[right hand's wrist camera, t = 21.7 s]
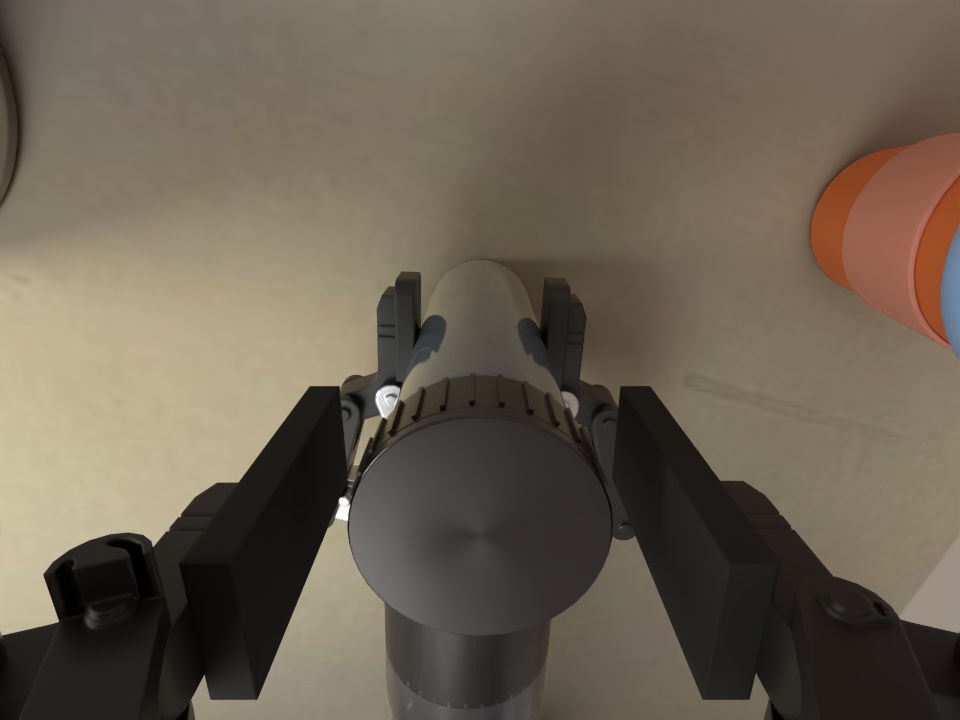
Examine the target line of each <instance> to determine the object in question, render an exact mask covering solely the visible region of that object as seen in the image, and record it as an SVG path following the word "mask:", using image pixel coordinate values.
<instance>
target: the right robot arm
mask: <svg viewBox="0 0 960 720" xmlns="http://www.w3.org/2000/svg"><path fill="white" fill-rule="evenodd" d="M16 150H17V113H16V105H15V98H14V92H13V87H12V83H11V79H10V75H9V71H8V68H7V65H6V62H5V59H4V56H3V53H2V50H1V47H0V202H1V200H2V198H3V197H4V195H5V193H6V190H7V187H8V185H9V182H10V179H11V176H12V172H13V168H14V164H15V157H16ZM347 480H348V470H347V460H346V449H345V439H344V429H343V418H342V408H341V397H340V387H339V386H310V387H309V388H308V390H307V391H306V392H305V394H304V395H303V396H302V398H301V399H300V400H299V402H298V403H297V404H296V406H295V407H294V409H293V410H292V411H291V413H290V414H289V415H288V417H287V418H286V419H285V421H284V422H283V423H282V425H281V426H280V427H279V429H278V430H277V431H276V433H275V434H274V436H273V437H272V438H271V440H270V441H269V442H268V444H267V445H266V446H265V448H264V449H263V450H262V452H261V453H260V454H259V456H258V457H257V458H256V460H255V461H254V463H253V464H252V465H251V467H250V468H249V469H248V471H247V472H246V473H245V475H244V476H243V477H242V479H241V480H240V481H239V483H216V484H215V485H213V486H211V487H210V488H208V489H207V490H205V491H204V492H202V493H201V494H199V495H198V496H196V497H195V498H194V499H193V500H192V502H191V503H190V504H189V505H188V506H187V508H186V509H185V510H184V511H183V512H182V514H181V517H178V518H177V520H176V521H175V522H174V523H173V524H172V526H171V527H170V528H169V529H170V530H169V532H166V533H165V534H164V535H163V536H162V538H161V539H160V540H159V541H158V542H157V543H156V545H155V546H154V547H153V546H152V542H151V541H150V540H149V539H148V538H146V537H145V536H144V535H140V534H134V533H119V534H110V535H106V536H103V537H100V538H96V539H93V540H89V541H87V542H85V543H83V544H81V545H79V546H77V547H75V548H73V549H71V550H69V551H68V552H66V553H65V554H63V555H62V556H61V557H59V558H58V559H57V560H55V561H54V562H53V563H52V564H51V565H50V567H49V568H48V569H47V570H46V572H45V573H44V574H43V575H44V578H45V581H46V584H47V587H48V590H49V593H50V596H51V599H52V602H53V604H54V607H55V610H56V613H57V616H58V619H59V622H58V623H54V624H51V625H46V626H42V627H38V628H33V629H29V630H24V631H20V632H16V633H11V634H7V635H3V636H2V635H1V633H0V720H195V716H194V709H193V705H192V701H191V699H192V697H193V695H194V693H195V691H196V689H197V687H198V686H199V684H200V682H201V680H202V678H203V676H204V674H205V678H206V682H207V687H208V691H209V695H210V699H211V700H257V699H258V697H259V694H260V692H261V689H262V687H263V685H264V682H265V680H266V677H267V675H268V672H269V670H270V667H271V665H272V663H273V660H274V658H275V655H276V653H277V650H278V648H279V645H280V643H281V641H282V638H283V636H284V633H285V631H286V628H287V626H288V624H289V621H290V619H291V616H292V614H293V611H294V609H295V606H296V604H297V602H298V599H299V597H300V594H301V592H302V589H303V587H304V585H305V582H306V580H307V577H308V575H309V572H310V570H311V567H312V565H313V563H314V560H315V558H316V555H317V553H318V550H319V548H320V546H321V543H322V541H323V538H324V536H325V533H326V531H327V528H328V526H329V524H330V521H331V519H332V516H333V514H334V511H335V509H336V507H337V504H338V502H339V499H340V497H341V494H342V492H343V489H344V487H345V485H346V482H347ZM612 480H613V482H614V485H615V487H616V489H617V492H618V494H619V497H620V499H621V502H622V504H623V507H624V509H625V511H626V514H627V516H628V519H629V521H630V524H631V526H632V528H633V531H634V533H635V536H636V538H637V541H638V543H639V546H640V548H641V550H642V553H643V555H644V558H645V560H646V563H647V565H648V567H649V570H650V572H651V575H652V577H653V580H654V582H655V585H656V587H657V589H658V592H659V594H660V597H661V599H662V602H663V604H664V606H665V609H666V611H667V614H668V616H669V619H670V621H671V624H672V626H673V628H674V631H675V633H676V636H677V638H678V641H679V643H680V646H681V648H682V650H683V653H684V655H685V658H686V660H687V663H688V665H689V667H690V670H691V672H692V675H693V677H694V680H695V682H696V685H697V687H698V689H699V692H700V694H701V697H702V699H703V700H749V699H750V695H751V691H752V687H753V682H754V678H755V674H756V673H757V675H758V677H759V679H760V681H761V683H762V685H763V687H764V688H765V690H766V692H767V694H768V696H769V701H768V705H767V709H766V713H765V717H764V720H960V633H955V632H950V631H946V630H942V629H937V628H933V627H928V626H924V625H920V624H915V623H911V622H907V621H904V620H901V619H900V618H899V617H898V615H897V614H896V612H895V611H894V610H893V608H892V607H891V606H890V605H889V604H888V603H886V602H885V601H884V600H883V599H882V598H880V597H879V596H878V595H877V594H875V593H873V592H872V591H870V590H868V589H866V588H864V587H862V586H860V585H859V584H856V583H853V582H850V581H847V580H844V579H841V578H838V577H833V575H832V574H831V573H830V572H829V571H828V569H827V568H826V567H825V566H824V565H823V564H822V562H821V561H820V560H819V559H818V558H817V556H816V555H815V554H814V553H813V552H812V550H811V549H810V548H809V547H808V546H807V545H806V543H805V542H804V541H803V540H802V539H801V537H800V536H799V535H798V534H797V533H796V531H795V530H792V529H791V526H790V524H789V523H788V522H787V521H786V520H785V518H784V517H783V516H782V515H779V511H778V510H777V509H776V508H775V507H774V505H773V504H772V503H771V502H770V501H769V499H768V498H767V497H766V496H765V495H764V494H762V493H761V492H759V491H758V490H756V489H755V488H753V487H752V486H750V485H748V484H747V483H745V482H744V481H720V480H719V479H718V477H717V476H716V475H715V473H714V472H713V471H712V469H711V468H710V467H709V465H708V464H707V463H706V461H705V460H704V458H703V457H702V456H701V454H700V453H699V452H698V450H697V449H696V448H695V446H694V445H693V444H692V442H691V441H690V440H689V438H688V437H687V436H686V434H685V433H684V431H683V430H682V429H681V427H680V426H679V425H678V423H677V422H676V421H675V419H674V418H673V417H672V415H671V414H670V413H669V411H668V410H667V409H666V407H665V406H664V404H663V403H662V402H661V400H660V399H659V398H658V396H657V395H656V394H655V392H654V391H653V390H652V388H651V387H650V386H621V387H620V397H619V408H618V418H617V429H616V439H615V449H614V460H613V470H612Z"/></svg>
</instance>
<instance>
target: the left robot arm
mask: <svg viewBox="0 0 960 720" xmlns="http://www.w3.org/2000/svg"><path fill="white" fill-rule="evenodd" d="M377 324H378V325H377V333H378V371H377V372H375V373H373V374H371V375H367V376H364V377H363V376H360V375H352V376H350V377H348V378H347V379H346V380H345V381H344V383H343V384H342V386H341V389H340V397H341V408H342V418H343V429H344V439H345V449H346V460H347V470H348V480H347V482H346V485H345V487H344V489H343V492H342V494H341V497H340V499H339V502H338V504H337V507H336V509H335V511H334V514H333V516H332V519H331V521H330V524H329V526H328V527H330V526H331V525H332V524H333V522H334V519H339V520H343V521H347V522H348V512H349V507H350V502H351V499H349V497H350V493H351V490H352V488H353V485H354V483H355V480H356V477H357V475H356V472H357V470H358V467H359V466H357V465H355V466H353V463H354V459H355V455H356V451H357V448H358V444H359V440H360V436H361V432H362V428H363V424H364V420H365V419H367V418H370V417H374V416H377V415H381V418H383V417H384V418H387V417H388V415H389V414H390V413H391V412H392V411H393V408H394V405H395V402H396V399H397V396H398V394H399V391H400V388H401V385H402V382H403V379H404V376H405V373H406V370H407V367H408V364H409V362H410V359H411V356H412V353H413V350H414V347H415V344H416V341H417V338H418V335H419V332H420V330H421V274H420V272H403V271H401V273H400V274H399V276H398V277H397V279H396V282H395V287H388V288H387V289H386V291H385V292H384V293H383V295H382V297H381V300H380V302H379V305H378V307H377ZM585 324H586V315H585V312H584V308H583V305H582V303H581V301H580V300H579V298H578V297H577V296H576V294H570V286H569V285H568V283H567V282H566V280H565V279H564V278H545V281H544V289H543V301H542V313H541V325H540V332H541V335H542V338H543V341H544V344H545V347H546V349H547V352H548V355H549V358H550V361H551V364H552V367H553V370H554V372H555V375H556V378H557V381H558V384H559V387H560V390H561V393H562V396H563V398H564V401H565V404H566V407H569V408H570V409H571V411H572V413H573V416H574V419H575V420H576V421H577V422H578V424H581V425H583V426H586V429H587V434H588V436H589V439H590V441H591V444H592V446H593V447H594V449H595V451H596V454H597V456H598V459H599V461H600V464H601V467H602V469H603V472H604V474H605V477H606V479H607V482H608V486H605V488H606V491H607V493H608V496H609V499H610V502H611V504H612V518H613V532H612V536H613V537H614V538H616V539H619V540H628V539H631V538H633V537H634V536H635V533H634V531H633V528H632V526H631V524H630V521H629V519H628V516H627V514H626V511H625V509H624V507H623V504H622V502H621V499H620V497H619V494H618V492H617V489H616V487H615V485H614V482H613V480H612V470H613V460H614V449H615V439H616V429H617V418H618V406H617V404H616V403H615V401H614V399H613V397H612V395H611V394H610V392H609V390H608V389H607V388H606V387H604V386H602V385H590V384H587V383H585V382H583V381H581V380H580V379H579V378H580V369H581V360H582V351H583V342H584V332H585ZM550 624H551V619H550V620H548V621H545V622H543V623H541V624H539V625H537V626H534V627H531V628H527V629H524V630H521V631H517V632H512V633H508V634H500V635H492V636H470V635H459V634H453V633H448V632H443V631H440V630H436V629H433V628H430V627H427V626H424V625H422V624H419V623H417V622H415V621H413V620H411V619H409V618H407V617H405V616H404V615H402V614H400V613H399V612H397V611H396V610H394V609H393V608H392V607H390V606H389V605H388V604H386V603H385V631H386V668H387V689H388V696H389V702H390V706H391V711H392V715H393V720H535V719H536V716H537V713H538V710H539V707H540V703H541V698H542V693H543V687H544V679H545V670H546V661H547V652H548V643H549V634H550Z"/></svg>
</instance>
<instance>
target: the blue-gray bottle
mask: <svg viewBox="0 0 960 720" xmlns="http://www.w3.org/2000/svg"><path fill="white" fill-rule="evenodd" d="M470 373H475V375H488V376H497V374H501V375H503V377H504V378H509V379H513V380H517V381H520V382H523V381H524V380H525V381H528V382H529V385H531V386H533V387H535V388H537V389H539V390H541V391H543V392H545V393H547V392H550V393H551V394H552V396H553V399H555V400H556V401H558V402H559V403H560V404H561V405H562V406H563V407H564V408H565V409H566V408H567V407H566V404H565V401H564V398H563V396H562V393H561V390H560V387H559V384H558V381H557V378H556V375H555V372H554V370H553V367H552V364H551V361H550V358H549V355H548V352H547V349H546V347H545V344H544V341H543V338H542V335H541V332H540V329H539V326H538V323H537V321H536V318H535V315H534V312H533V309H532V306H531V303H530V300H529V298H528V295H527V292H526V290H525V287H524V285H523V284H522V282H521V280H520V279H519V278H518V277H517V276H516V275H515V274H514V273H513V272H512V271H511V270H510V269H508V268H507V267H505V266H503V265H501V264H499V263H496V262H493V261H488V260H472V261H467V262H464V263H461V264H459V265H457V266H455V267H453V268H452V269H450V270H449V271H448V272H447V273H445V275H444V276H443V277H442V278H441V279H440V280H439V282H438V283H437V285H436V287H435V289H434V292H433V295H432V298H431V300H430V303H429V306H428V309H427V312H426V315H425V318H424V321H423V324H422V327H421V330H420V332H419V335H418V338H417V341H416V344H415V347H414V350H413V353H412V356H411V359H410V362H409V364H408V367H407V370H406V373H405V376H404V379H403V382H402V385H401V388H400V391H399V394H398V396H397V399H396V402H395V405H394V408H393V410H394V409H395V408H396V405H397V402H398V401H399V400H402V401H404V400H406V399H407V398H408V397H410V396H411V395H413V394H414V393H416V392H418V388H419V387H421V386H423V387H424V388H425V387H428V386H430V385H432V384H435V383H437V382H440V381H443V378H445V377H448V378H449V379H451V378H456V377H463V376H470Z"/></svg>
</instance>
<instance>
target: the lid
mask: <svg viewBox="0 0 960 720" xmlns="http://www.w3.org/2000/svg"><path fill="white" fill-rule="evenodd" d="M356 475H357V477H356V480H355V483H354V485H353V488H352V490H351V493H350V497H349V499H351V502H350V507H349V512H348V537H349V544H350V547H351V551H352V554H353V558H354V560H355V562H356V565H357V567H358V569H359V571H360V573H361V574H362V576H363V577H364V579H365V581H366V582H367V584H368V585H369V586H370V587H371V588H372V590H373V591H374V592H375V593H376V594H377V595H378V596H379V597H380V598H381V599H382V600H383V601H384V602H385V603H386V604H388V605H389V606H390V607H392V608H393V609H394V610H396V611H397V612H399V613H400V614H402V615H404V616H405V617H407V618H409V619H411V620H413V621H415V622H417V623H419V624H422V625H424V626H427V627H430V628H433V629H436V630H440V631H443V632H448V633H453V634H459V635H470V636H492V635H500V634H508V633H512V632H517V631H521V630H524V629H527V628H531V627H534V626H537V625H539V624H541V623H543V622H545V621H548V620H550V619H552V618H553V617H555V616H557V615H558V614H560V613H562V612H563V611H565V610H566V609H567V608H569V607H570V606H571V605H573V604H574V603H575V602H576V601H577V600H578V599H579V598H580V597H582V596H583V595H584V594H585V593H586V592H587V590H588V589H589V588H590V587H591V585H592V584H593V583H594V581H595V580H596V578H597V577H598V575H599V573H600V572H601V570H602V568H603V566H604V563H605V561H606V559H607V556H608V553H609V549H610V545H611V541H612V532H613V518H612V504H611V502H610V499H609V496H608V493H607V491H606V488H605V486H608V482H607V479H606V477H605V474H604V472H603V469H602V467H601V464H600V461H599V459H598V456H597V454H596V451H595V449H594V447H593V446H592V444H591V441H590V439H589V436H588V434H587V431H586V429H585V427H584V426H582V427H580V426H579V424H578V422H577V421H576V420H575V419H574V416H573V413H572V411H571V409H570V408H569V407H567V408H566V409H565V408H564V407H563V406H562V405H561V404H560V403H559V402H558V401H556V400H555V399H553V396H552V394H551V393H550V392H547V393H545V392H543V391H541V390H539V389H537V388H535V387H533V386H531V385H529V382H528V381H525V380H524V381H523V382H520V381H517V380H513V379H509V378H504V377H503V375H501V374H497V376H488V375H475V373H470V376H463V377H456V378H451V379H449V378H448V377H445V378H443V381H440V382H437V383H435V384H432V385H430V386H428V387H425V388H424V387H423V386H421V387H419V388H418V392H416V393H414V394H413V395H411V396H410V397H408V398H407V399H406V400H404V401H402V400H399V401H398V402H397V405H396V408H395V409H394V410H393V411H392V412H391V413H390V414H389V415H388V417H387V418H384V417H383V418H382V419H381V420H380V423H379V426H378V428H377V431H376V434H375V436H374V438H372V437H370V439H369V442H368V444H367V447H366V449H365V452H364V455H363V457H362V460H361V462H360V465H359V467H358V470H357V472H356Z"/></svg>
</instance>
